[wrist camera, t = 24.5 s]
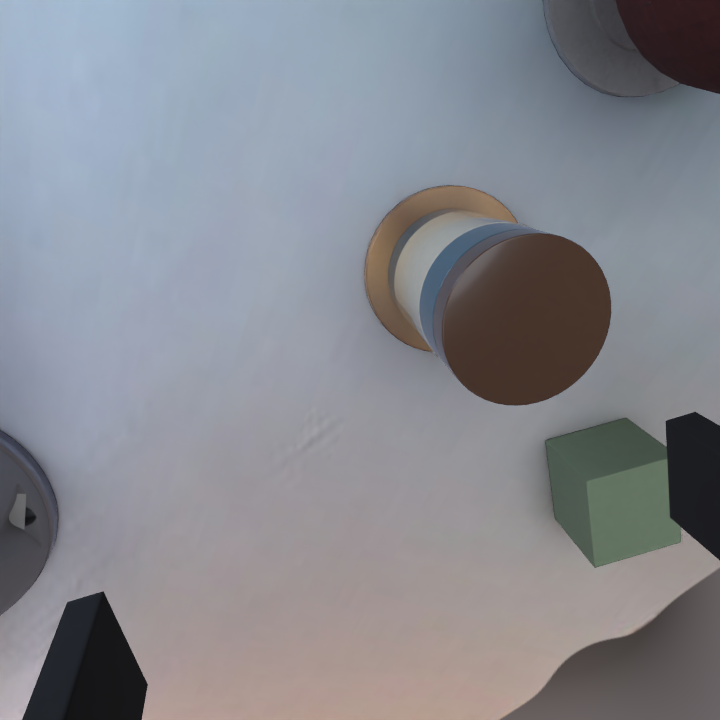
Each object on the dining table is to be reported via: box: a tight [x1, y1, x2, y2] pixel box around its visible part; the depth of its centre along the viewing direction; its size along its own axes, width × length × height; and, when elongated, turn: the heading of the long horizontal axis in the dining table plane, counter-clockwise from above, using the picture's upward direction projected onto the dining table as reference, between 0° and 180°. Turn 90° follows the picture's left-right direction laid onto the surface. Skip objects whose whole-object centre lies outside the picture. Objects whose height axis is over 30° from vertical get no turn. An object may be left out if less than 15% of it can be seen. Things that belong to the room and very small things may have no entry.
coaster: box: [364, 185, 518, 352], centre depth 39 cm, size 11×11×1 cm
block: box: [546, 418, 681, 568], centre depth 43 cm, size 7×6×6 cm
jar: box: [388, 208, 611, 405], centre depth 33 cm, size 14×8×14 cm
